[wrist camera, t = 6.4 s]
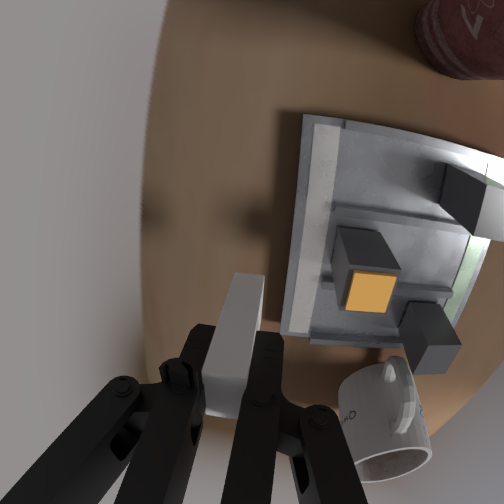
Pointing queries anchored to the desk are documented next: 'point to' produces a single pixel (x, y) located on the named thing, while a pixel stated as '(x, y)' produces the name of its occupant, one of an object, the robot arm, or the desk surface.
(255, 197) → the desk surface
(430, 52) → the can
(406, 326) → the breaker
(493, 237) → the block
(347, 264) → the block
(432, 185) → the panel
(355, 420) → the mug
